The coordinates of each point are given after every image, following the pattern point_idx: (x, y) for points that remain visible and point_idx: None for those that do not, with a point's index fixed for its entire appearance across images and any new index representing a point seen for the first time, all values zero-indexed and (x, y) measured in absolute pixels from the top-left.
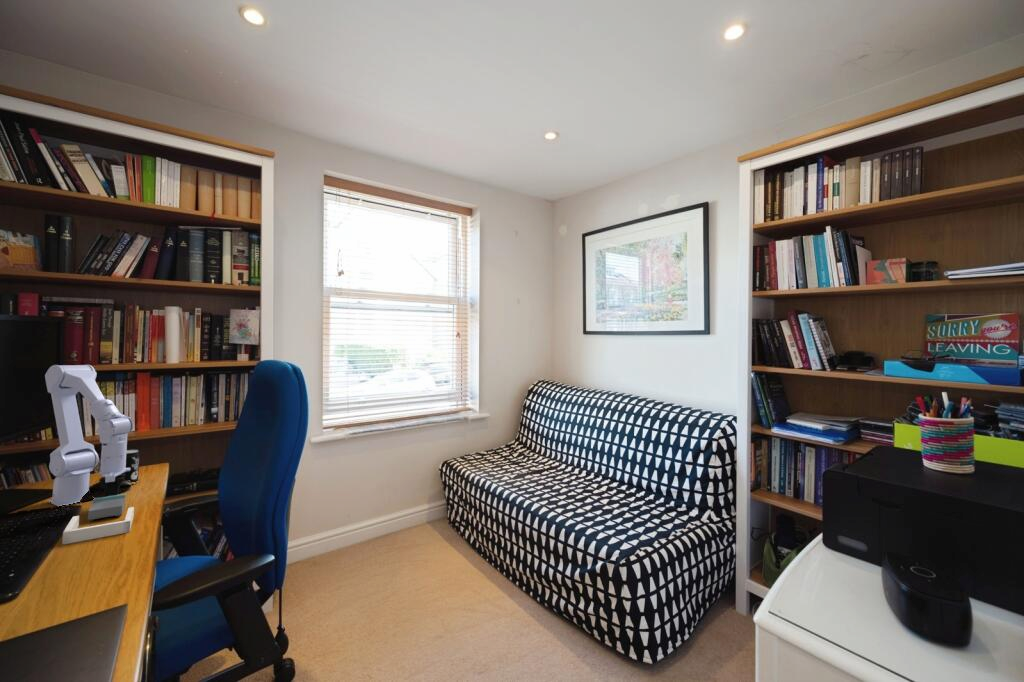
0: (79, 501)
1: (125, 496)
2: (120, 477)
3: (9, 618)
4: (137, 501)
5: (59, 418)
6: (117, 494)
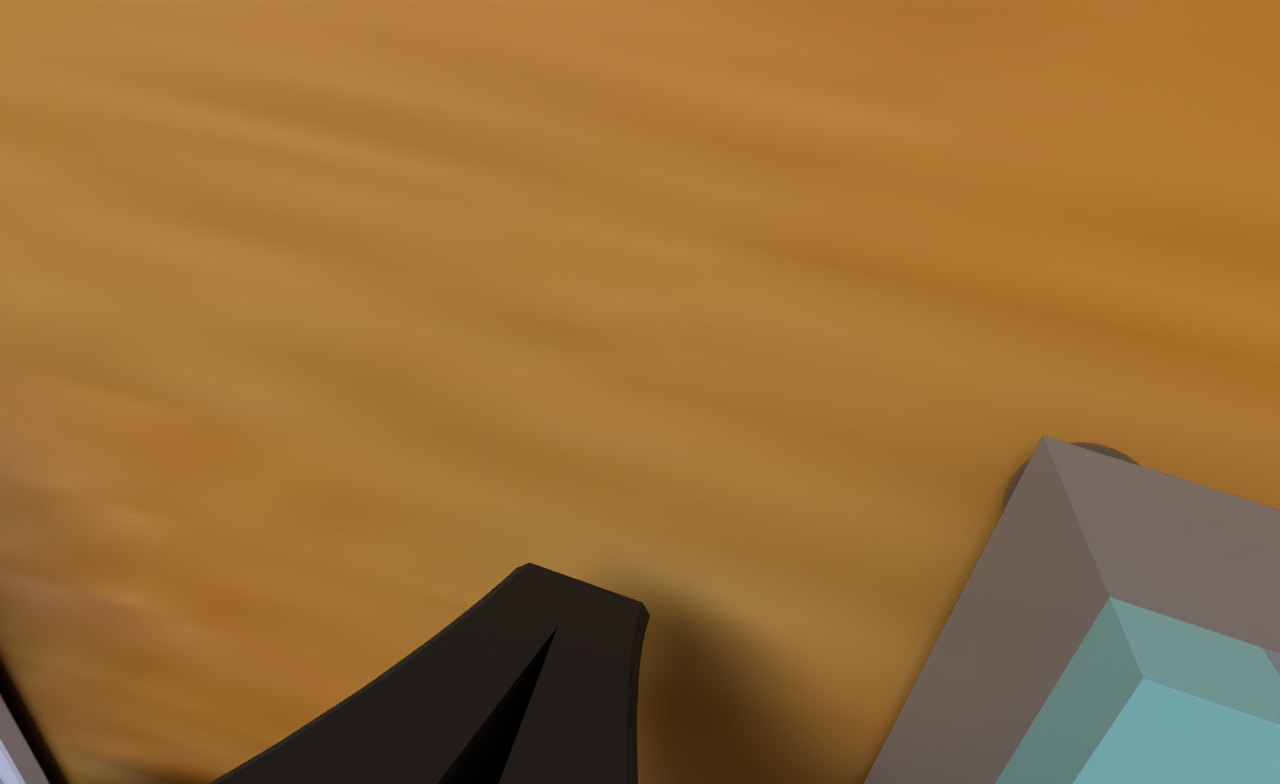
0: (17, 773)
1: (1141, 608)
2: None
3: None
4: (700, 10)
5: None
6: (493, 617)
